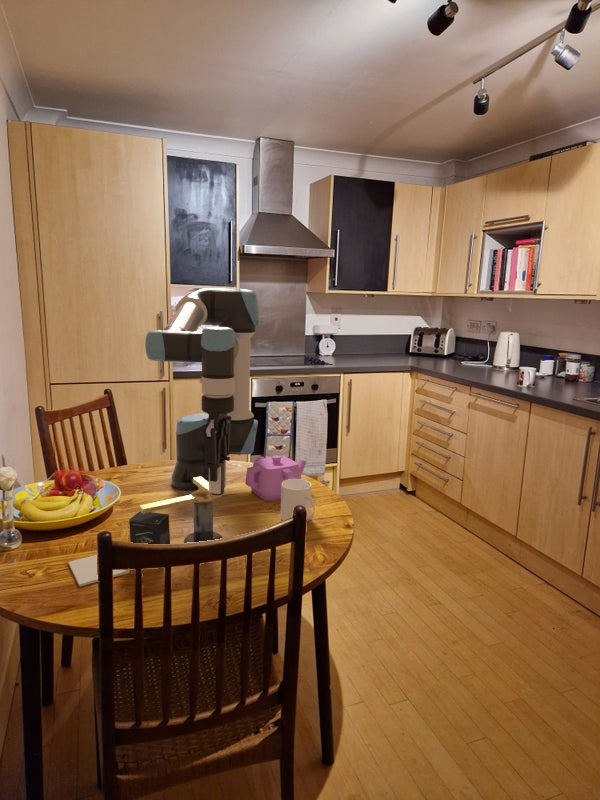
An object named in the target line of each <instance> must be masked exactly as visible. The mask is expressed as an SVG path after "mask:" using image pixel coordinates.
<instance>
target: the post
mask: <svg viewBox="0 0 600 800" xmlns="http://www.w3.org/2000/svg"><path fill="white" fill-rule="evenodd" d="M192 504H193V532H192V533H189V534H187V536H185V537H184V540H183V544H184V543H187V542H199V541H207V540H215V539H220V538H223V536H222V534H220V533H218V532H216V531H214V501H212V502H209V503H196V502H194V503H192ZM223 539H224V538H223Z"/></svg>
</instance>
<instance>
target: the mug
mask: <svg viewBox="0 0 600 800" xmlns="http://www.w3.org/2000/svg"><path fill="white" fill-rule="evenodd" d="M297 505H302V506H305V507H306V508H307V522H308V521H311V520H312V519H313V518H314V516H315V513H316V512H315V510H316V505H315V501H314V499H313V497H312V483H311V482H310V481H308V480H306V479H303V478H301V479H288V480H285V481H283V482H282V486H281V499H280V519H281V520H282V521H283V520H285V519H288V518H290V517H291V516H292V513H293V508H294V507H295V506H297ZM311 506H312V514H311Z"/></svg>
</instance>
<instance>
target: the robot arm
mask: <svg viewBox="0 0 600 800" xmlns="http://www.w3.org/2000/svg"><path fill="white" fill-rule="evenodd" d="M258 301H259V300H258V296H257V293H256V291H254V290H253V289H246V288H219V287H217V288H215V287H214V288H213V287H205V288H200V289H197V290H194V291H192V292H190V293H188V294H185V296H182V298H181V299H180V300H179V301H178V302H177V304H176V305H175V309H174V310H175V311H174V314H173V315H172V317H171V319H169V321H168V323H167V324H166V325H165V327H164V328H163V329H162V330H161V329H157V330H155V329H154V330H149V331H148V332H147V333H146V337H145V343H144V344H145V345H144V346H145V354H146V356H147V359H148V360H150V361H152V362H153V361H155V362H162V363H164V362H167V363H168V362H171V363H174V362H175V363H201V378H200V380H199V383H200V384H201V393H202V394H203V395H202V396H201V401H200V402H201V406H200V407H201V411H202V412H199V413H193V414H187V415H185V416H181V417H180V418H179V419H178V420H177V421H176V427H175V437H176V439H175V442H176V443H175V444H176V448H175V449H176V462H175V466H174V469H173V471H172V474H171V486H172V487H173V488H175V489H178V490H181V491H190V492H191V491H192V492H194V491H197V490H199V487H198V486H197V485H196V484H194V483H193V478H196V477H202V478H203V479H205V480H206V481H207V482H209V493H215V494H220V493H221V467H219V462H220V461H223V462H224V489H225V488H226V487H227V462H230V460H231V457H229V456H230V455H236V456H237V455H238V456H242V455H251V454H253V452H254V450H255V443H256V435H257V431H258V424H259V421H258V420H257V419H255V417H254V416H255V415H254V412H252V411H251V410H250V390H251V389H250V388H251V387H250V381H251V379H250V378H251V367H250V366H251V338H252V337H253V336H254V334H256V329H257V328H259V327H261V322H260V311H259V302H258ZM201 326H207V327H204V328H202V330H201V331H198V329H199V328H200V327H201Z"/></svg>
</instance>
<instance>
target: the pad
mask: <svg viewBox="0 0 600 800" xmlns="http://www.w3.org/2000/svg"><path fill="white" fill-rule="evenodd" d="M97 555H98V554H95V555H91V556H88V557H87V556H86V557H82V558H80V559H75V560H71V561H68V567H69V568H70V571H71V572H72V574H73V576H74V579H75V581H76V583H77V585H78V587H79V588H81V587H83V586H88V585H91V584H94V583H98V582H99V581H98V575H97ZM130 573H131V570H130V569H129V570H114V571H113V578H115V577H119V576H123V575H126V574H130Z"/></svg>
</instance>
